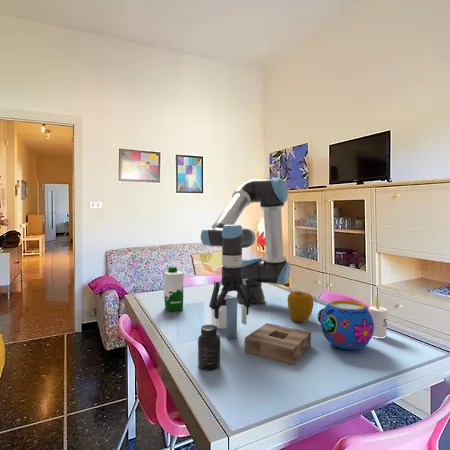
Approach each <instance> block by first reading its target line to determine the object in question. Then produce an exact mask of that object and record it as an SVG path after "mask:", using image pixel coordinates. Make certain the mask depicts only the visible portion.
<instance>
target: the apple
mask: <svg viewBox="0 0 450 450" xmlns="http://www.w3.org/2000/svg"><path fill="white" fill-rule="evenodd" d="M287 307H288V312H289V315H290V318H291V320H292V321H294V322H297V323H305V322H307V321H308V320H309V319H310V317H311V315H312V312H313V310H314V298H313V296H312V294H310V293H308V292H305V291H300V290H299V291H295V290H294V291H291V292H290V293H288V296H287Z"/></svg>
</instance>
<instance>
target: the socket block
mask: <svg viewBox="0 0 450 450" xmlns="http://www.w3.org/2000/svg"><path fill="white" fill-rule="evenodd" d="M311 339H312V332H311V331H308V330H302V329H298V328H293V327H289V326H282V325H278V324H274V323H268V322H266V323H265V324H263V325H262V326H260V327H259V328H258V329H257V328H256V329H255V330H254V331H252V332H251V333H249V334H248V335H247V336H245V338H244V352H245V353H247V354H251V355H255V356H258V357H262V358H264V359H265V358H266V359H269V360H273V361H275V362H281V363H284V364H288V365H291V366H295V364H296V363H297V362H298V361H299V360H300V359H301V357H303V355H305V353H307V351H308V350H309V349H310V348H311V346H312V345H311V344H312V342H311V341H312V340H311ZM308 348H309V349H308ZM307 349H308V350H307ZM298 359H299V360H298ZM297 360H298V361H297ZM296 361H297V362H296Z"/></svg>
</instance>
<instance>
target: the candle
mask: <svg viewBox="0 0 450 450" xmlns="http://www.w3.org/2000/svg"><path fill="white" fill-rule="evenodd" d="M379 301H380V300H379V298H378V297H377V296H375V306H374V305H373V306H369V307H368V310H369V312H370V313H371V316H372V319H373V323H374V332H373V336H377V337H384V336H386V337H387V322H388V316H387V315H388V309H387V308H385V307H383V306H380V302H379Z"/></svg>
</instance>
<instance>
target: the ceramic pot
mask: <svg viewBox="0 0 450 450" xmlns="http://www.w3.org/2000/svg"><path fill="white" fill-rule="evenodd" d="M317 320H318V322H319V324H320V327H321V332H322V335H324V337H325V339H326V340H327V342H329V343H330V344H331V345H333V346H335V347H337V348H339V349H342V350H348V351H351V350H359V349H362V348H365V347H366V346H367V345H368V344H369V342H370V341H371V339H372V336H373V332H374V323H373V319H372V316H371V313H370V312H369V308H368V307H366V306H365V305H364V304H362V303H360V302H356V301H353V300H352V301H351V300H346V299H344V300H342V299H341V300H340V299H339V300H334V301H333V300H332V301H330V302H329V303H328V304H326V305H325V307H324V308H321V309H320V310H319V311H318V313H317Z"/></svg>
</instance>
